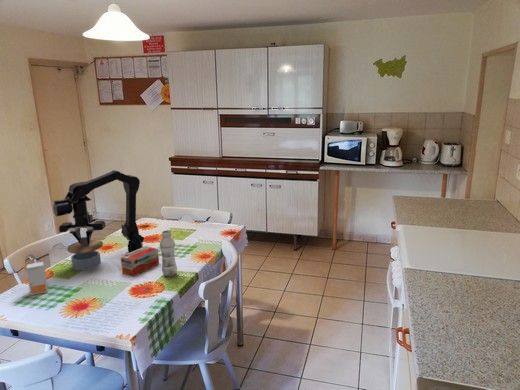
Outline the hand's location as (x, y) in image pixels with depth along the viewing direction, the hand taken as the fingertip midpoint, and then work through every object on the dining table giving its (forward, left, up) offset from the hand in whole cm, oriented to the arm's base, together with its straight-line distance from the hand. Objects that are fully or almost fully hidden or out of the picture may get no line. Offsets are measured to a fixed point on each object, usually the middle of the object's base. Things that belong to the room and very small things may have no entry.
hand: (85, 243), depth 176 cm
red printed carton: (-25, +4, -12) cm, 28 cm away
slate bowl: (+1, -2, -11) cm, 12 cm away
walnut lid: (0, 0, -2) cm, 2 cm away
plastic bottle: (-40, +13, -12) cm, 43 cm away
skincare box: (+11, +23, -12) cm, 28 cm away
